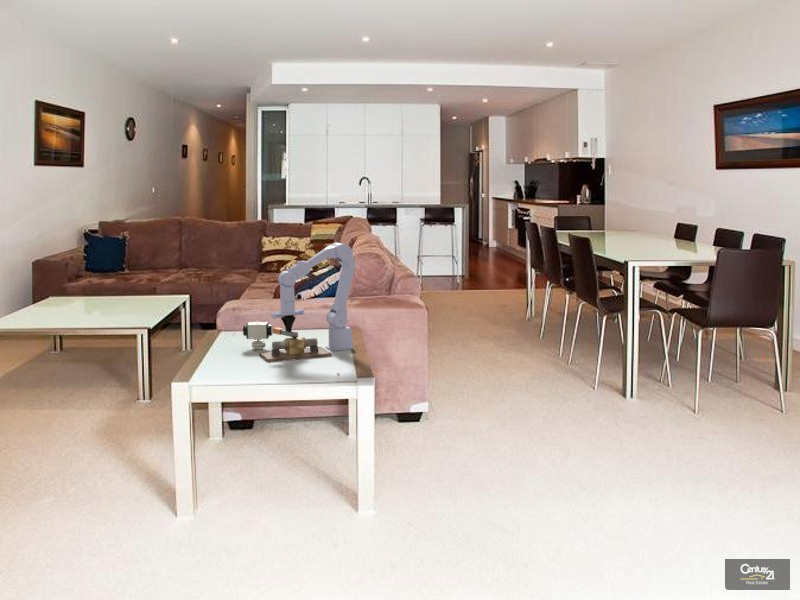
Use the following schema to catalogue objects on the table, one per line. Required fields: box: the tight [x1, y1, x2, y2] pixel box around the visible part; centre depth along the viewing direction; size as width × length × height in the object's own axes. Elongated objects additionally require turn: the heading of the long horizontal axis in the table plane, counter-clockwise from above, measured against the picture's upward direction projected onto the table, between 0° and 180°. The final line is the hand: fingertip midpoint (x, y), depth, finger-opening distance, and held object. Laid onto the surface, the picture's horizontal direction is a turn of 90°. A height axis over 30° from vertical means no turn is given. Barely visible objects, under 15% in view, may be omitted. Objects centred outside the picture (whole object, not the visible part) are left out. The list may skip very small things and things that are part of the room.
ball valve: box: [258, 336, 333, 363], centre depth 322 cm, size 26×14×7 cm, turn 113°
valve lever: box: [273, 326, 299, 338], centre depth 326 cm, size 15×3×2 cm, turn 43°
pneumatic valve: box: [242, 320, 274, 350], centre depth 335 cm, size 6×12×12 cm, turn 90°
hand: (288, 334), depth 326 cm, fingers closed, pressing on valve lever
